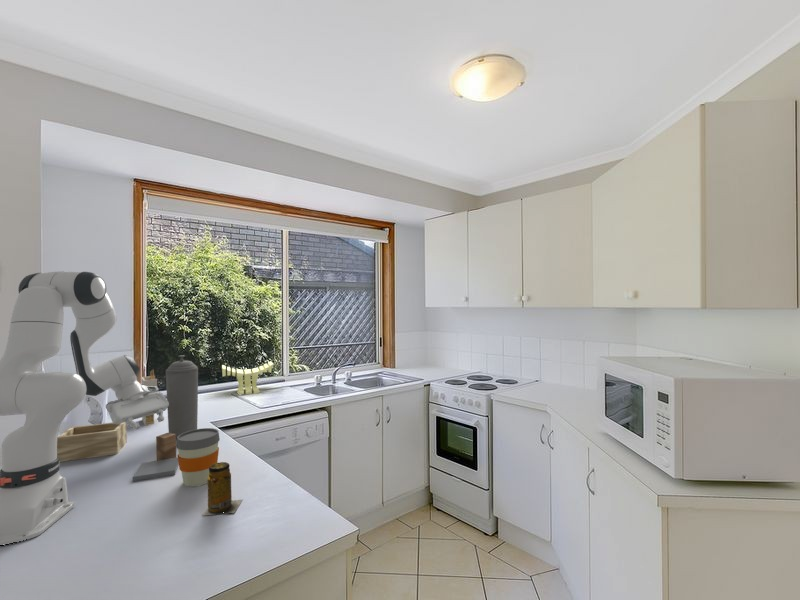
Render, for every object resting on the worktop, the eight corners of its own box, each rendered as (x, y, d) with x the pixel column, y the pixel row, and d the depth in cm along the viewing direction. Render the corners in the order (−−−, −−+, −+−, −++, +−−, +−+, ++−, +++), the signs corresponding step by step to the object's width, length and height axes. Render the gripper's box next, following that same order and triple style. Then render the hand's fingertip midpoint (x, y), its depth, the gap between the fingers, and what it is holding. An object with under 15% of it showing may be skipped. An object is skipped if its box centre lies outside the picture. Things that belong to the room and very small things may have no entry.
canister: (205, 432, 173) (204, 354, 173) (179, 441, 162) (177, 358, 162) (186, 428, 179) (185, 352, 179) (159, 437, 167) (158, 356, 167)
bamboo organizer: (117, 453, 150) (116, 430, 150) (57, 462, 143) (56, 437, 143) (126, 442, 162) (126, 420, 162) (71, 449, 155) (71, 427, 155)
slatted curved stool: (271, 386, 264) (270, 360, 264) (273, 391, 250) (273, 363, 250) (222, 391, 252) (222, 364, 252) (222, 396, 238) (222, 367, 238)
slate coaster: (175, 474, 131) (174, 470, 131) (132, 481, 126) (132, 476, 126) (180, 461, 142) (180, 457, 142) (141, 467, 137) (141, 462, 137)
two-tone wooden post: (144, 426, 184) (143, 372, 184) (142, 420, 193) (141, 369, 193) (163, 422, 189) (162, 370, 189) (160, 417, 198) (159, 367, 198)
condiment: (212, 502, 112) (211, 461, 112) (242, 500, 113) (241, 459, 113) (201, 516, 105) (201, 472, 105) (234, 514, 106) (233, 470, 106)
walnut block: (176, 458, 145) (175, 434, 145) (164, 462, 140) (164, 438, 140) (168, 456, 146) (167, 432, 146) (156, 461, 142) (156, 436, 142)
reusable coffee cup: (178, 493, 117) (177, 444, 117) (175, 478, 128) (174, 432, 128) (223, 482, 124) (222, 435, 124) (217, 468, 135) (216, 425, 135)
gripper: (107, 397, 140) (125, 427, 136) (161, 385, 159) (178, 411, 155) (99, 408, 142) (117, 438, 138) (153, 395, 161) (170, 421, 157)
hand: (150, 424), depth 147 cm, fingers open, 8 cm apart
